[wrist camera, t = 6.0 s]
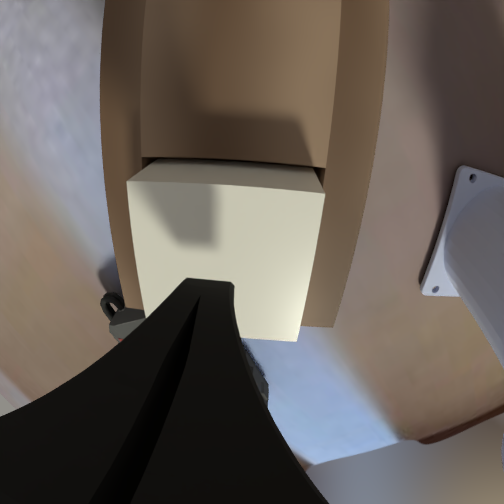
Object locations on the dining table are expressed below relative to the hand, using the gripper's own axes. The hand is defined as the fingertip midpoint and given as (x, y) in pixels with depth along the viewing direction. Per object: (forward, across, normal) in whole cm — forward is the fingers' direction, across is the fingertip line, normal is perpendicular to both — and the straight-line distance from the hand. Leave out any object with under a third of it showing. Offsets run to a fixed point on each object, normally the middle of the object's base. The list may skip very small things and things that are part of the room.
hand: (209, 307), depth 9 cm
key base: (+7, 0, -10) cm, 12 cm away
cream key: (+5, 0, 0) cm, 5 cm away
